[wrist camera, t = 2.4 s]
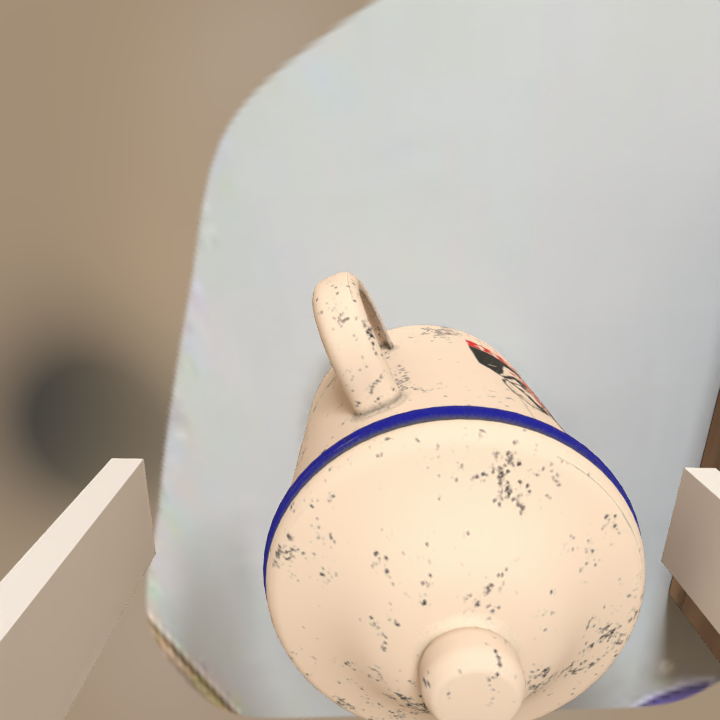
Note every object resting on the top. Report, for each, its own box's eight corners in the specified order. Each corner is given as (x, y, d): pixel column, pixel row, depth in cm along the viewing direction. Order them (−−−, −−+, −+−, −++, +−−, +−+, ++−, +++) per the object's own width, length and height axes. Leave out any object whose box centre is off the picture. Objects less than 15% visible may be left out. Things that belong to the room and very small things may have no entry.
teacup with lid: (564, 479, 21) (775, 794, 10) (360, 554, 23) (353, 905, 12) (459, 198, 18) (605, 217, 7) (227, 304, 19) (38, 463, 8)
